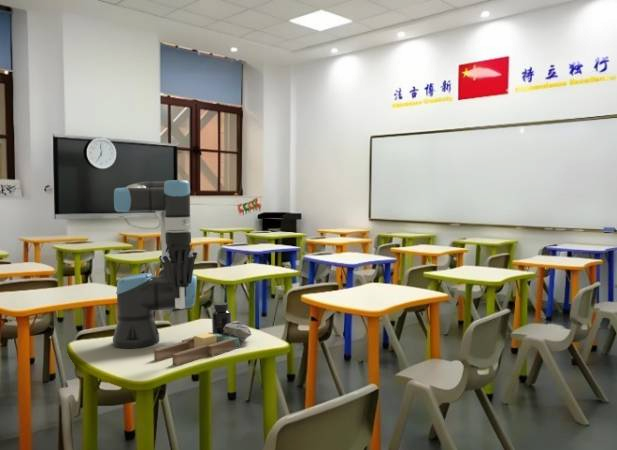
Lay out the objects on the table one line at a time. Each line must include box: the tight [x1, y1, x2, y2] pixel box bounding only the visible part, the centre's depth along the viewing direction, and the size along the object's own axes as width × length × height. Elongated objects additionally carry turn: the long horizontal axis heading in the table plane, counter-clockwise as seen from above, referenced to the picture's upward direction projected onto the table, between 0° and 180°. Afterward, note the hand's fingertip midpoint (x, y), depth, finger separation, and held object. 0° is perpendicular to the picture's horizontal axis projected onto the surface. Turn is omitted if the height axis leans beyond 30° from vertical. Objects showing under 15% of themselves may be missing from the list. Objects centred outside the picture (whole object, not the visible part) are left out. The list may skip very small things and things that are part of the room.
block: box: [193, 332, 217, 348], centre depth 161 cm, size 5×5×5 cm
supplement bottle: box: [211, 302, 233, 335], centre depth 178 cm, size 7×7×12 cm
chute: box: [153, 332, 240, 367], centre depth 159 cm, size 14×24×3 cm, turn 144°
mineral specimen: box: [223, 320, 253, 344], centre depth 171 cm, size 10×8×10 cm
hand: (180, 308), depth 154 cm, fingers closed
